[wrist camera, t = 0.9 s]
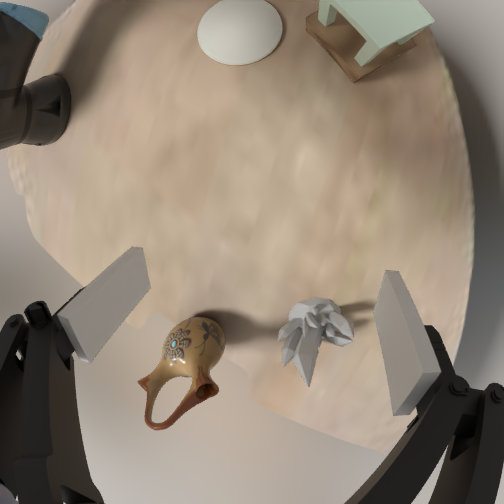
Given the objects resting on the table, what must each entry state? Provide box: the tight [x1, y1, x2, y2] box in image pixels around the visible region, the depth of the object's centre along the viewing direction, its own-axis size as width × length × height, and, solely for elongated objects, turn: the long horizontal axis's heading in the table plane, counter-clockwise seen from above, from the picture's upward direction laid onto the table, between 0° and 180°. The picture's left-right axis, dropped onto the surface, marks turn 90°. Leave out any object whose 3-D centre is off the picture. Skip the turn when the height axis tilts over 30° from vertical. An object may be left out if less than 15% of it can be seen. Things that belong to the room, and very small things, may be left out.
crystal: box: [277, 297, 354, 387], centre depth 41 cm, size 10×13×15 cm
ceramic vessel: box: [138, 317, 225, 430], centre depth 42 cm, size 16×9×25 cm, turn 111°
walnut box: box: [306, 10, 416, 83], centre depth 24 cm, size 10×10×5 cm
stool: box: [318, 0, 435, 67], centre depth 18 cm, size 8×8×9 cm
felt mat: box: [197, 0, 283, 66], centre depth 28 cm, size 12×12×1 cm
